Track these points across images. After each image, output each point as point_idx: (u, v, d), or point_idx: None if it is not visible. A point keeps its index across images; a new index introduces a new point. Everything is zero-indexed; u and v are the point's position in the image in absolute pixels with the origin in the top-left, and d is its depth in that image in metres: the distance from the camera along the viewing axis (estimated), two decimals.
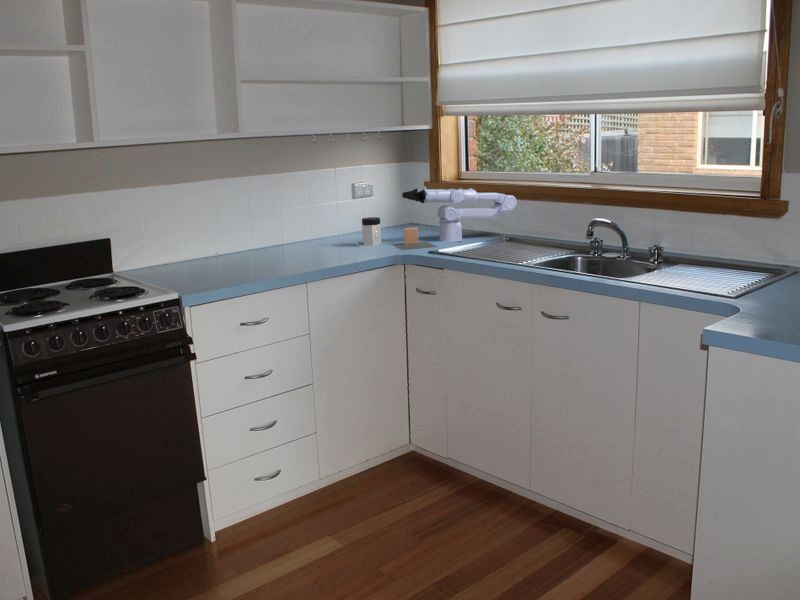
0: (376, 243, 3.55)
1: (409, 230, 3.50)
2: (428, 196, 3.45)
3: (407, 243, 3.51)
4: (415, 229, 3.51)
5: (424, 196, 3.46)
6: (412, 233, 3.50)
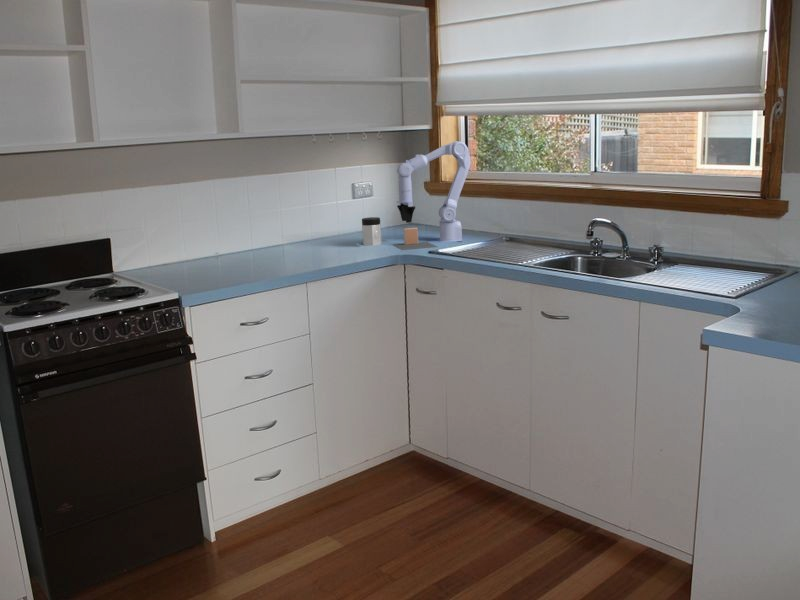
0: (376, 243, 3.55)
1: (409, 230, 3.50)
2: (409, 204, 3.47)
3: (407, 243, 3.51)
4: (415, 229, 3.51)
5: (409, 207, 3.49)
6: (412, 233, 3.50)
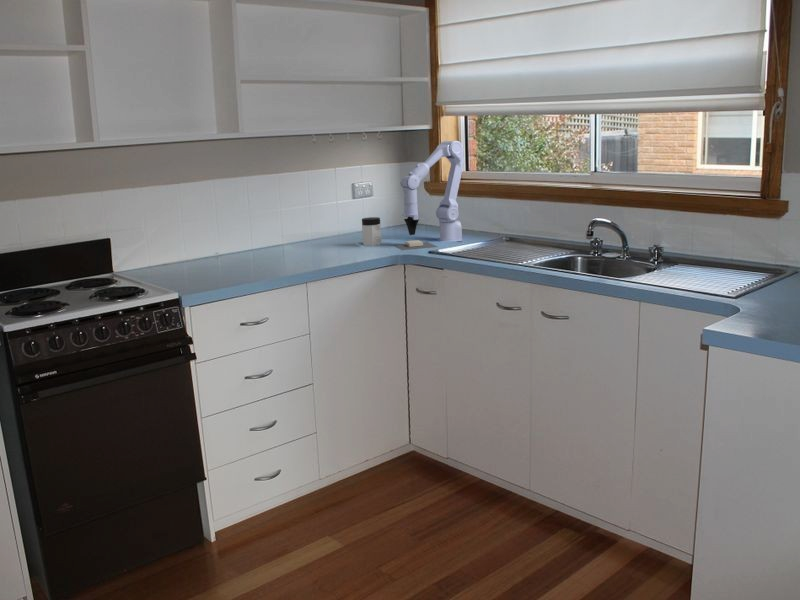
0: (376, 243, 3.55)
1: (414, 246, 3.45)
2: (415, 217, 3.41)
3: None
4: (420, 245, 3.46)
5: (412, 219, 3.45)
6: None
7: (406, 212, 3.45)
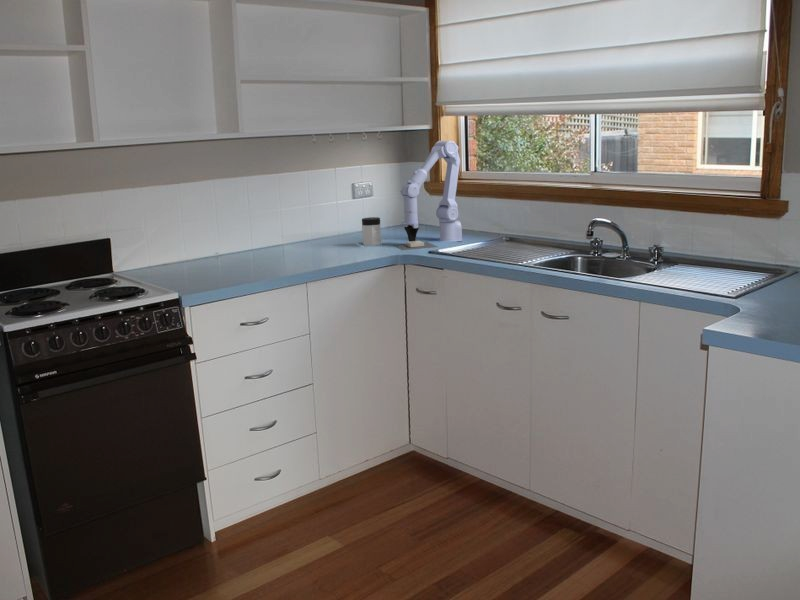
0: (376, 243, 3.55)
1: None
2: (415, 225, 3.42)
3: None
4: None
5: (412, 227, 3.46)
6: None
7: (406, 220, 3.46)
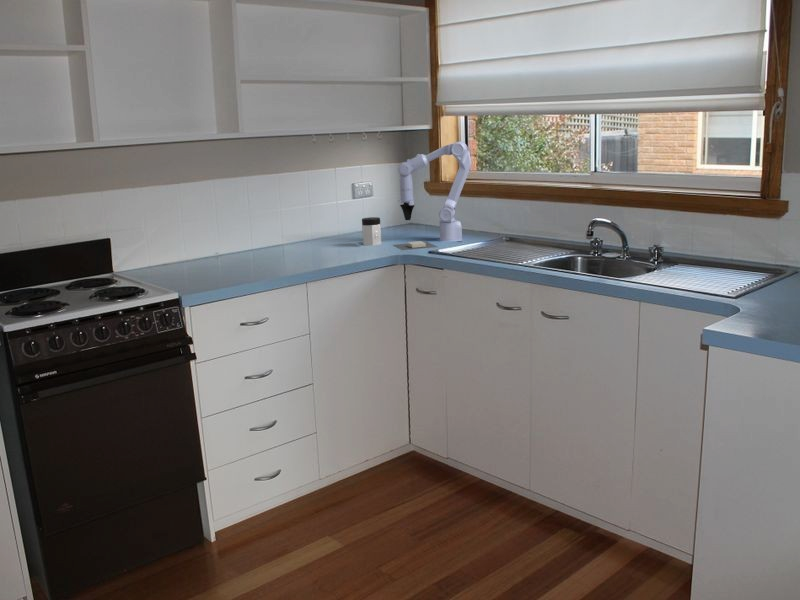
0: (376, 243, 3.55)
1: (416, 247, 3.42)
2: (411, 202, 3.52)
3: None
4: None
5: (408, 205, 3.57)
6: None
7: (402, 198, 3.57)
